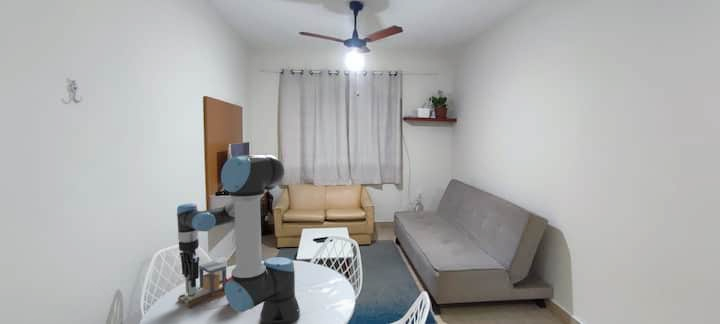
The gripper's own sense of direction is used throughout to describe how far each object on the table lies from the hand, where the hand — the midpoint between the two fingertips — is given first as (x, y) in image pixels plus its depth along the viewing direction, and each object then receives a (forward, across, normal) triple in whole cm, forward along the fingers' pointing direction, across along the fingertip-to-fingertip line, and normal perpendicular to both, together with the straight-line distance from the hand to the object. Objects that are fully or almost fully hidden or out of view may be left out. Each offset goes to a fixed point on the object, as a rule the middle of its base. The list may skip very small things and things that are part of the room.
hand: (191, 292), depth 138 cm
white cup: (+4, +12, -19) cm, 23 cm away
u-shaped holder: (+2, 0, -5) cm, 6 cm away
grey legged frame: (+4, 0, -8) cm, 9 cm away
